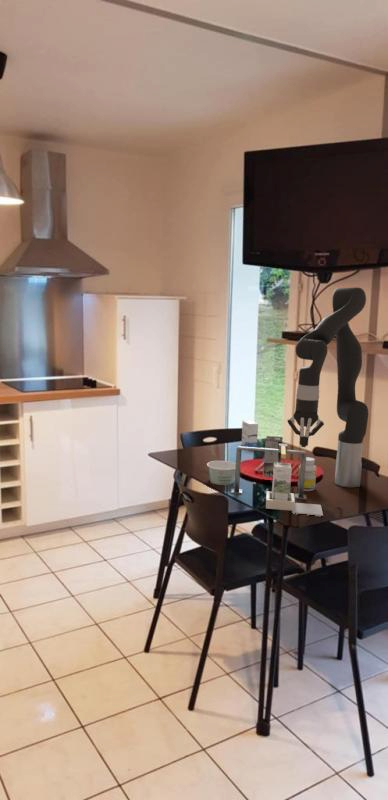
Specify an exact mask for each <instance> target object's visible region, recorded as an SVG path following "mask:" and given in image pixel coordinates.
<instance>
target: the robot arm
mask: <svg viewBox="0 0 388 800" xmlns="http://www.w3.org/2000/svg"><path fill="white" fill-rule="evenodd" d="M331 298H332V300H331V301H332V302H331V303H332V312H333V313H331V314H329V315H327V316H326V317H324V318H322V320H320V321H319V323H318V324H317V326H316V327H315V328H314V330H312V331H310V332H308V333H307V334H305V335H304V336H303V337H301V338H300V339H299V341H298V342H297V343H296V346H295V354H296V356H297V357H298V358H299V359H302V360H307V361H312V362H311V364H310V366H303V367H302V366H301V367H300V369H299V372H298V373H299V374H298V381H297V382H298V385H297V388H296V389H297V390H296V397H295V410H294V413H293V415H292V417H290V418H288V419H287V423H288V425H289V426H290V428H291V430H292V431H293V433H294V434H296V435H298V436H299V446H301V448H306V447H308V445H309V438H310V437H311V436H312V437H313V436H315V434H317V433H318V431H319V430H321V428H322V427H323V426H324V425H325V424H324V421H323V420H321V419H320V418H319V415H318V411H319V410H318V409H319V398H320V377H321V373H322V369H323V367H324V366H323V365H324V364H325V360H326V358H327V354H328V350H329V349H328V345H329V344H330V343H331V342H332V341H333V339H336V340H335V342H336V343H335V344H336V351H335V352H336V367H337V398H336V413H337V416H338V418H339V419H340V420H341V421H343V422H345V427H344V430H342V431H340V432H339V433H338V437H337V451H336V458H335V459H336V461H335V472H334V473H335V474H334V484H335V485H337V486H340V487H344V488H360V487H361V479H362V467H363V466H362V465H363V462H362V454H363V444H364V438H365V436H366V434H367V428H368V421H369V408H368V405H366V403H364V402H363V401H361V400H358V399H357V398H356V396H357V395H356V383H357V380H358V377H359V375H360V373H361V370H362V367H363V351H362V345H361V343H360V342H359V340H358V338H357V337H356V335H355V334H354V332H353V330H352V329H351V327H350V325H349V322H350V321H351V320H353V319H354V318H355V317H357V315H358V314H360V313H361V312H362V311H363V310H364V308H365V307H366V303H367V295H366V292H365V291H364V289H363V288H361V287H354V286H352V287H338V288H336V289H334V291H333V294H332V297H331ZM295 421H296V424H297V425H298V427H299V429H298V428H297V426H296V425H295ZM315 424H316V426H314V425H315ZM313 426H314V428H313V429H312V430H311V427H313Z"/></svg>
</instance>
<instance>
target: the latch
mask: <svg viewBox="0 0 388 800" xmlns="http://www.w3.org/2000/svg"><path fill="white" fill-rule="evenodd" d="M279 450H281V459H286V457H287V456H286V455H287V453H286V450H288V443H282V444H279Z"/></svg>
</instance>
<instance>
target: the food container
mask: <svg viewBox="0 0 388 800" xmlns="http://www.w3.org/2000/svg"><path fill="white" fill-rule="evenodd" d="M206 466H207V468H208V477H209V482H210V483H211V484H213V485H214V484H215V485H217V486H218V485H220V486H227V485H228V486H229V485H232V484H234V483H235V469H236V462H233V461H228V460H211V461H209V462H207V463H206Z"/></svg>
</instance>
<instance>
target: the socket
mask: <svg viewBox="0 0 388 800" xmlns="http://www.w3.org/2000/svg"><path fill="white" fill-rule="evenodd" d="M271 496H272V491H269V490H266V497H265V510H266V509H268V510H269V509H271V510H281V511H290V512H292V509H294V506H295V503H296V502H295V501H296V499H295V493H294V492H293V493H292V492H290V497H289V501H284V500H272V499H271Z"/></svg>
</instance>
